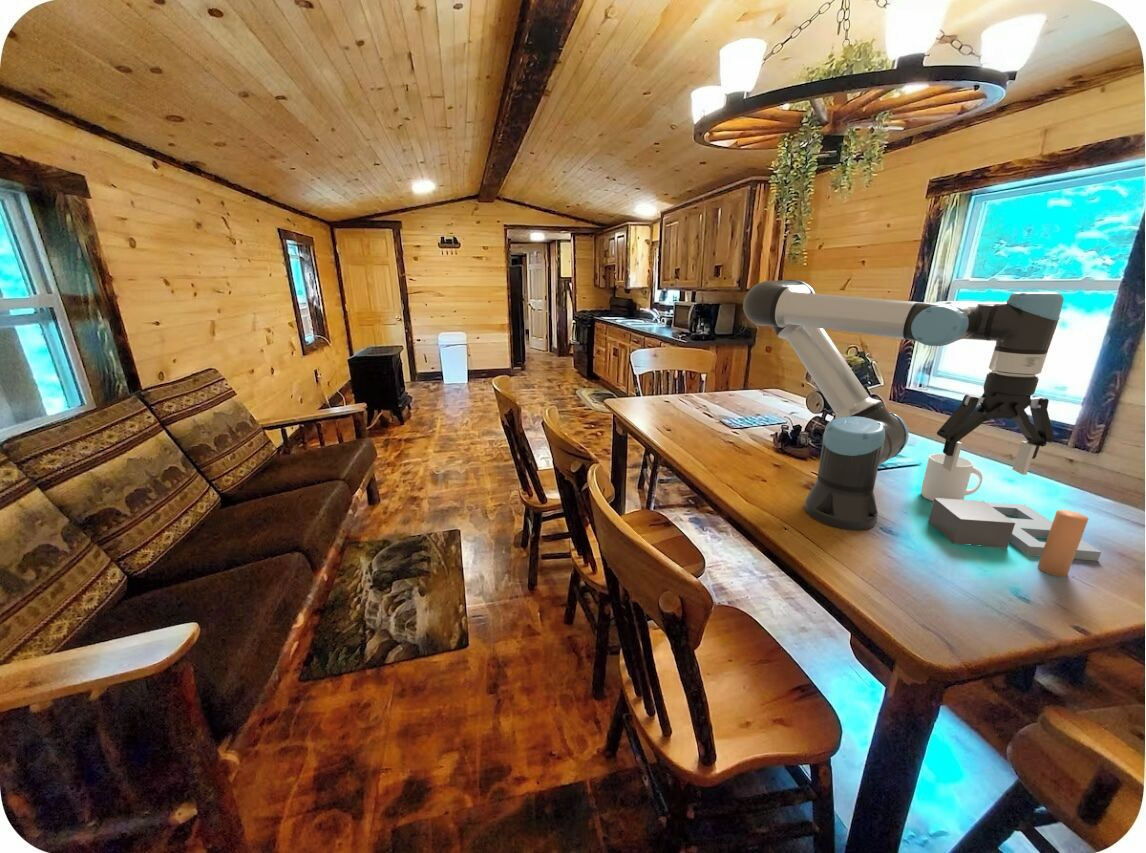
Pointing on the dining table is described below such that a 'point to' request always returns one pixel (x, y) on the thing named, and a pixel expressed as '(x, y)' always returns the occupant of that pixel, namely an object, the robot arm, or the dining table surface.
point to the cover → (971, 522)
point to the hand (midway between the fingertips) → (983, 470)
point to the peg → (1062, 542)
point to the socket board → (1036, 531)
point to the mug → (948, 479)
